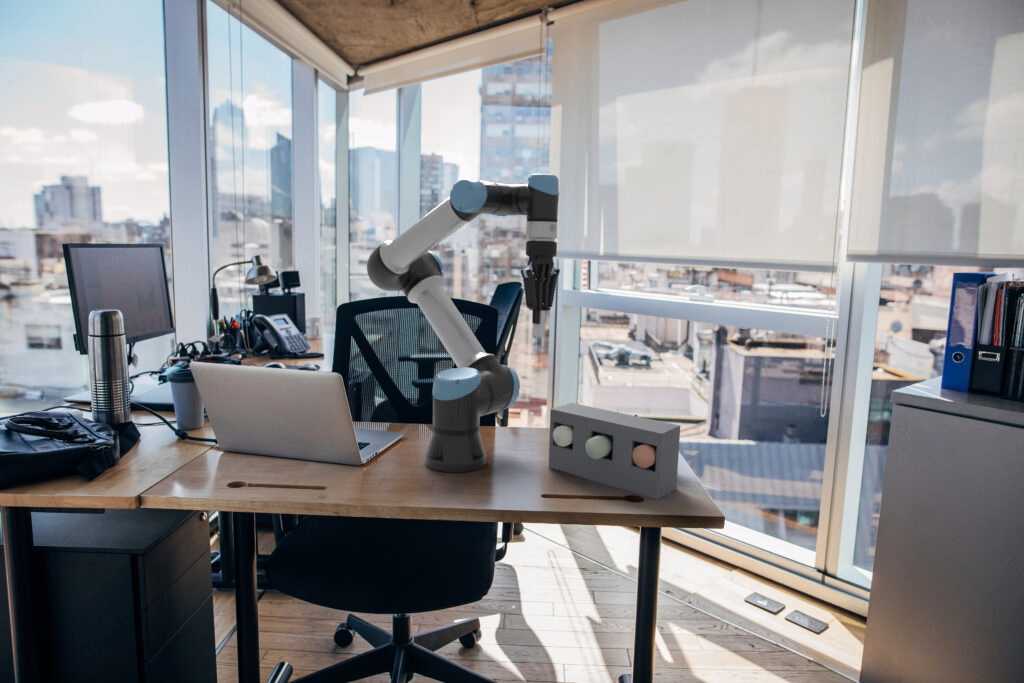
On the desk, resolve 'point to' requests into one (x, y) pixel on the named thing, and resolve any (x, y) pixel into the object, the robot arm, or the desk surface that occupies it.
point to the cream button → (563, 435)
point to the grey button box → (616, 449)
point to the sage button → (599, 446)
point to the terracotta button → (644, 455)
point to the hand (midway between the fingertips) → (538, 336)
